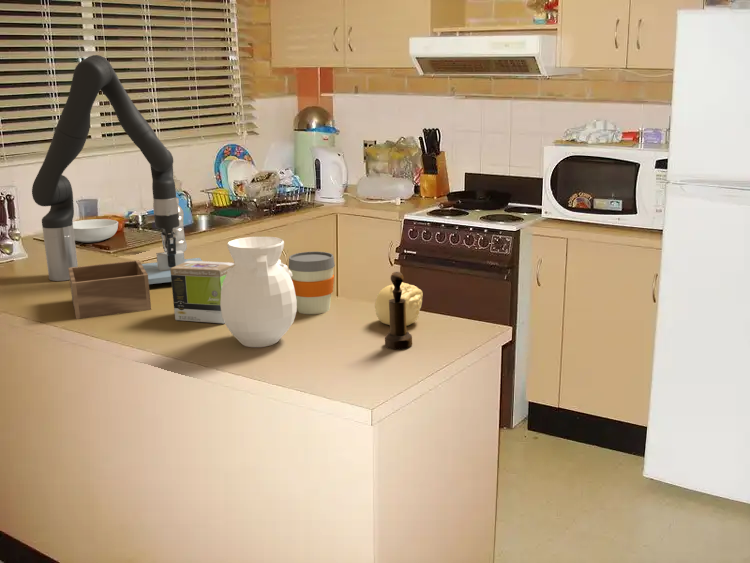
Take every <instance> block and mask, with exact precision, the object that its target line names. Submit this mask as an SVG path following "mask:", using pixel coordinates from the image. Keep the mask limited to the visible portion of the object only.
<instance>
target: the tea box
mask: <svg viewBox="0 0 750 563" xmlns="http://www.w3.org/2000/svg"><path fill="white" fill-rule="evenodd" d="M234 266H235V263H234V261H211V260H210V261H208V260H207V261H206V260H202V261H187V262H184V263H182V264H179V265H177V266H175V267H172V268H170V271H171V282H170V283H171V290H172V292H171V293H172V300H173V301H172V302H173V311H174V319H175V321H183V322H184V321H185V322H186V321H187V322H199V323H212V324H225V322H224V320H223V318H222V313H221V306H220V301H221V290H222V285H223V284H222V283H223V281H224V279H225V278H226V274H227V272H228V269H229V268H233V267H234Z"/></svg>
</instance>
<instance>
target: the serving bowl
mask: <svg viewBox="0 0 750 563" xmlns="http://www.w3.org/2000/svg"><path fill="white" fill-rule="evenodd" d="M118 228H119V221H117V220H115V219H107V218H95V219H93V218H92V219H82V220H75V221H74V220H73V230H74V238H75V242H80V243H84V244H86V243H87V244H88V243H89V244H92V243H99V242H102V241H104V240H105V241H106V240H107V239H109V238H111V237H113V236H114V235H115V234H116V233H117V231H118Z"/></svg>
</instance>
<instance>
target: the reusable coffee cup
mask: <svg viewBox="0 0 750 563" xmlns="http://www.w3.org/2000/svg"><path fill="white" fill-rule="evenodd" d="M334 258H335V257H334V254H332V253H331V252H326V251H304V252H302V251H301V252H298V253H297V252H296V253H294V254H291V255H289V256H288V266H287V267H288V270H290V271H291V272H292V275H293V276H292V277H291V279H292V282H293V285H294V289H295V294H296V300H297V312H298V313H300V314H304V315H319V314H324V313H325V314H326V313H327V312H329V311H330V310H331V298H332V293H333V292H334V283H335V282H334V281H335V275H334V267H335V265H336V264H335V259H334Z"/></svg>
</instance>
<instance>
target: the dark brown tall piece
mask: <svg viewBox="0 0 750 563" xmlns="http://www.w3.org/2000/svg"><path fill="white" fill-rule="evenodd" d="M404 278H405V277H404V275H403V273H402V272H400V271H393V272H392V273H391V275H390V282H391V283H392V284H393V285H394V290H393V291H392V292H393V296H394V299H391V300H389V315H390V325H389V332H388V333H387V334H385V336H384V347H385V348H387V349H389V350H404V349H405V350H406V349H409V348H410V347H412V345H413V335H412V334H411V333H410V332H409V331H408V330H407V326H406V300H405V299H401V295H402V290H401V289H400V285H401V284H402V282H403V281H404ZM403 283H404V282H403Z"/></svg>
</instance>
